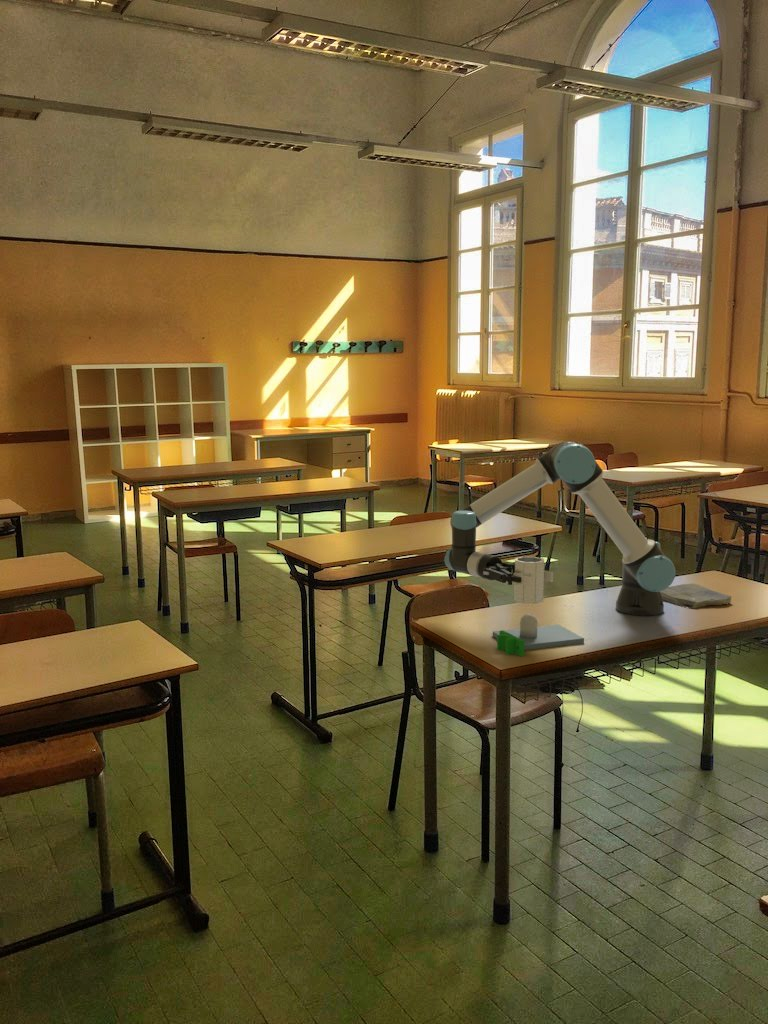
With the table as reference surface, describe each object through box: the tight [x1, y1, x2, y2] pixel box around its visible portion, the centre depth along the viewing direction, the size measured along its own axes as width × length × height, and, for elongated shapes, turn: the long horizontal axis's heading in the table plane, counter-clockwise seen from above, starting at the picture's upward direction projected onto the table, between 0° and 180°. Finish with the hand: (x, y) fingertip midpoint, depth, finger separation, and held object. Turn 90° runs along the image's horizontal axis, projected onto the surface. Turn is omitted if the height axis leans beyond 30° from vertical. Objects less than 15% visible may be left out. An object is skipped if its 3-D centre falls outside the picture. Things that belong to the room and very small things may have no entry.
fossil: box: [660, 583, 732, 609], centre depth 294 cm, size 20×5×17 cm
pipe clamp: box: [496, 629, 525, 657], centre depth 241 cm, size 11×4×5 cm, turn 25°
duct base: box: [492, 613, 585, 651], centre depth 251 cm, size 22×15×8 cm
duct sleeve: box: [513, 556, 545, 605], centre depth 248 cm, size 8×8×12 cm
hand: (541, 579), depth 244 cm, fingers closed on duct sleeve, 8 cm apart
